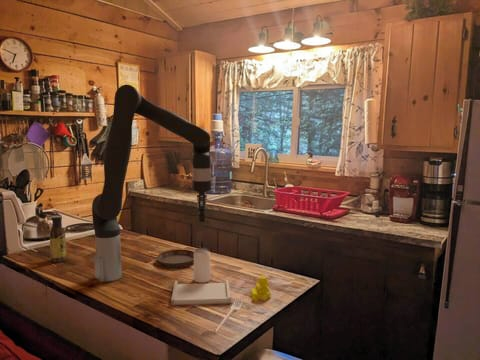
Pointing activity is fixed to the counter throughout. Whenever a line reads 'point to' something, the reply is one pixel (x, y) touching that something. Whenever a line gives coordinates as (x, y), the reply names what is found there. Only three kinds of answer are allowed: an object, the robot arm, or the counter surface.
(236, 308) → the fork
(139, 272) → the counter surface
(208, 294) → the tray
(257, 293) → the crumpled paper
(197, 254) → the can
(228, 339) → the counter surface
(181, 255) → the plant saucer
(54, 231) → the sauce bottle
